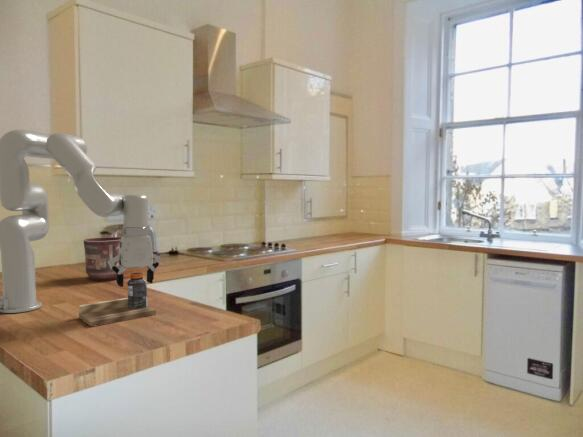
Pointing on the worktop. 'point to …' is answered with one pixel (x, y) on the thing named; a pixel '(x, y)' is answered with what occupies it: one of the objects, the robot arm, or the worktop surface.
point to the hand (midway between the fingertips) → (135, 284)
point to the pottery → (101, 257)
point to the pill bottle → (137, 291)
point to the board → (111, 312)
